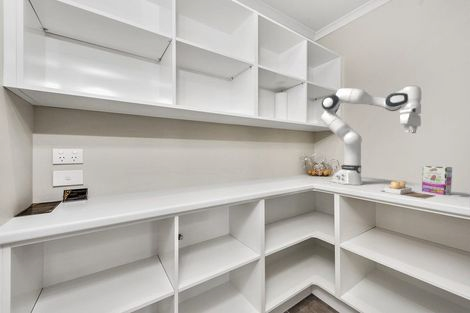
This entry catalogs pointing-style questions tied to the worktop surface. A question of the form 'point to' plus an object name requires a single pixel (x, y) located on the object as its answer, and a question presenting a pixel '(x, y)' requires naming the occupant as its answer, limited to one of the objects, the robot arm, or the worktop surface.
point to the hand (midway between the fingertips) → (410, 132)
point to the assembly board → (415, 195)
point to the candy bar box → (437, 180)
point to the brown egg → (395, 185)
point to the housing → (399, 191)
